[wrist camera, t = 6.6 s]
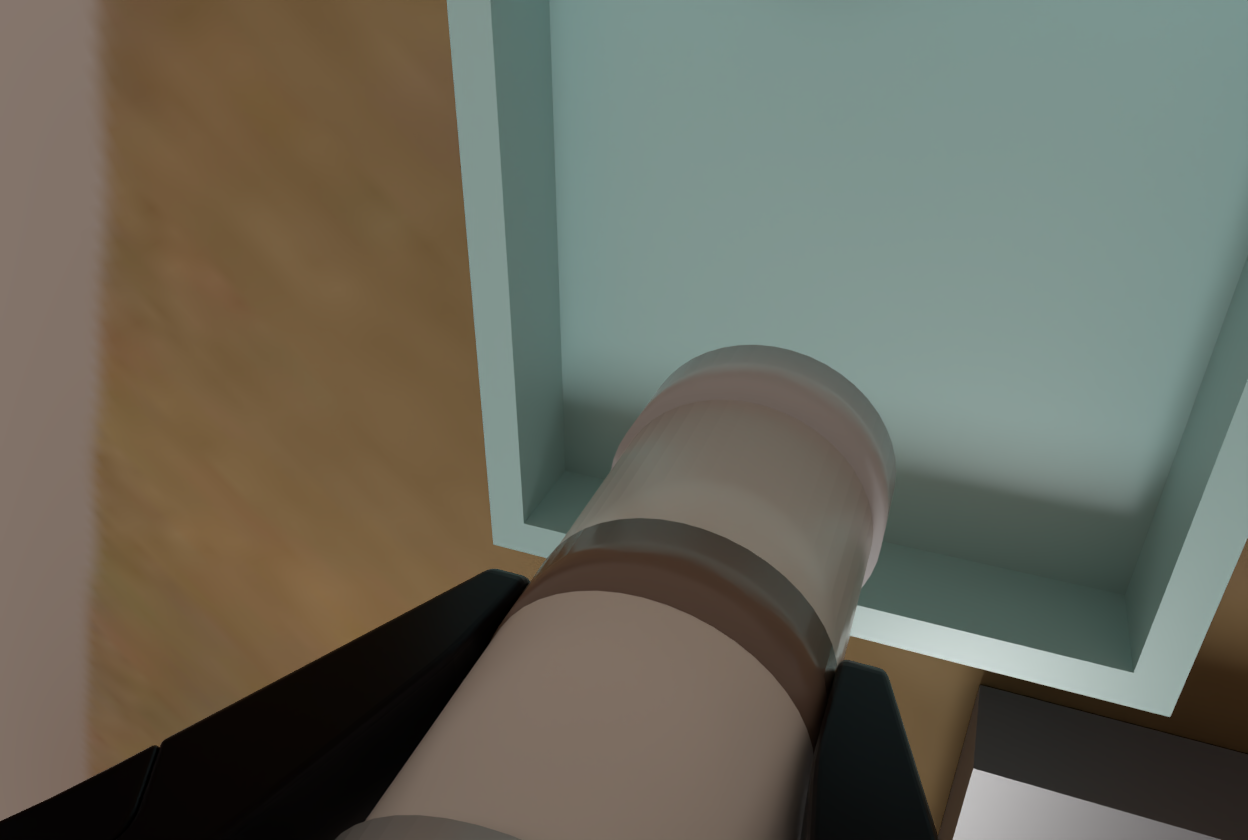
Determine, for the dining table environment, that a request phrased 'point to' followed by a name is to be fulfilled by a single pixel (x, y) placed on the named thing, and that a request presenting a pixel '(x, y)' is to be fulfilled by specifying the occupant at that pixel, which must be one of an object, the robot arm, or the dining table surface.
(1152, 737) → the socket block
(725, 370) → the cylinder
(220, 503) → the dining table surface
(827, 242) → the parts tray
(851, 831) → the robot arm
